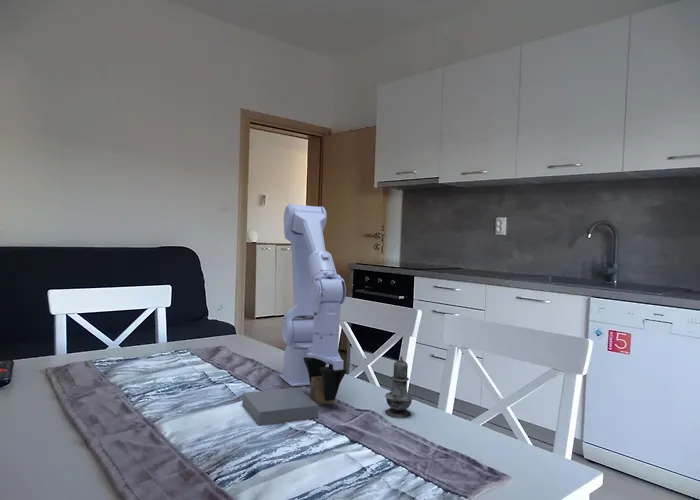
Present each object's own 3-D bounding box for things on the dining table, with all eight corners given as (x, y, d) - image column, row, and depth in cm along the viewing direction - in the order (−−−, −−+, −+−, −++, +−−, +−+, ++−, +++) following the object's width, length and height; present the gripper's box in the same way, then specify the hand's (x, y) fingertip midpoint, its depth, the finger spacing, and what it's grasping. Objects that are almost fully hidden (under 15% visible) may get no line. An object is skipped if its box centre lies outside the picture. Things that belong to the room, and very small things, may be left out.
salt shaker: (411, 420, 98) (414, 360, 98) (382, 416, 99) (385, 358, 99) (413, 410, 104) (416, 354, 103) (385, 407, 105) (389, 351, 105)
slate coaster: (242, 404, 101) (242, 392, 101) (296, 398, 107) (296, 387, 107) (258, 425, 91) (259, 412, 91) (317, 417, 96) (318, 405, 96)
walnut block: (310, 399, 107) (311, 376, 107) (326, 397, 109) (328, 375, 109) (317, 405, 104) (318, 381, 104) (334, 403, 106) (335, 380, 106)
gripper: (296, 327, 111) (293, 386, 111) (322, 340, 98) (319, 407, 98) (325, 326, 114) (322, 383, 114) (353, 338, 101) (350, 403, 101)
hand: (322, 394), depth 106 cm, fingers open, 7 cm apart
